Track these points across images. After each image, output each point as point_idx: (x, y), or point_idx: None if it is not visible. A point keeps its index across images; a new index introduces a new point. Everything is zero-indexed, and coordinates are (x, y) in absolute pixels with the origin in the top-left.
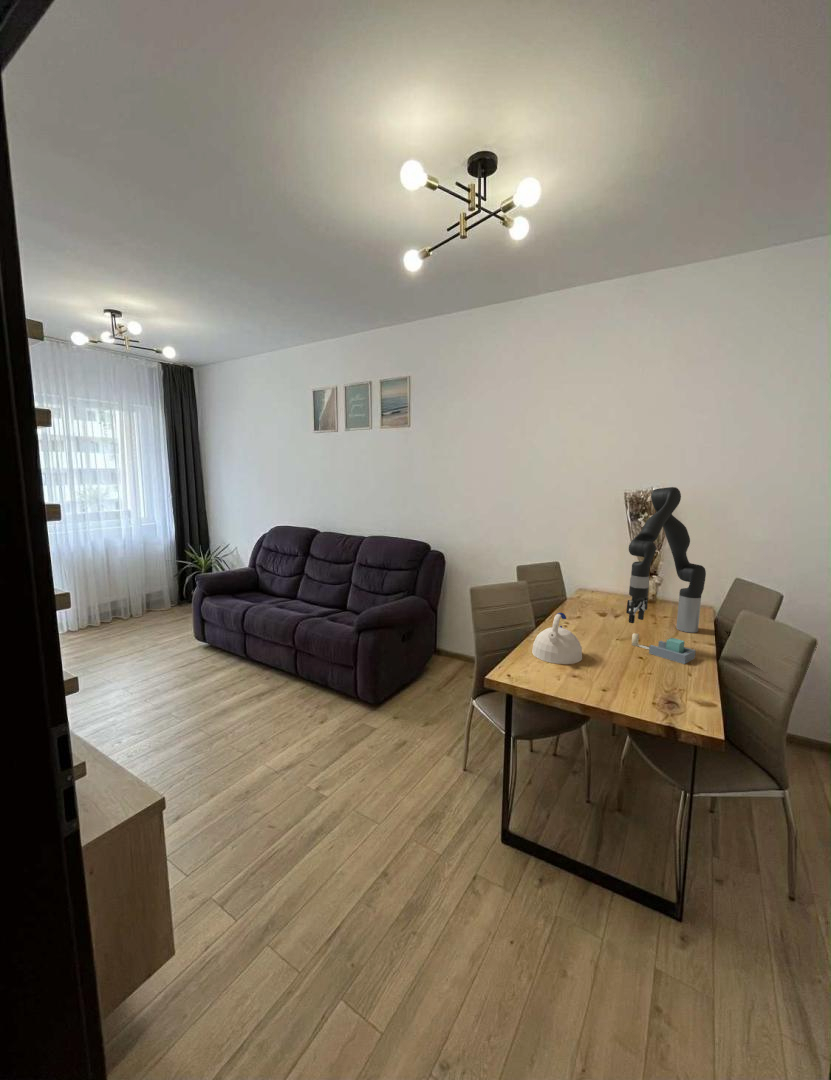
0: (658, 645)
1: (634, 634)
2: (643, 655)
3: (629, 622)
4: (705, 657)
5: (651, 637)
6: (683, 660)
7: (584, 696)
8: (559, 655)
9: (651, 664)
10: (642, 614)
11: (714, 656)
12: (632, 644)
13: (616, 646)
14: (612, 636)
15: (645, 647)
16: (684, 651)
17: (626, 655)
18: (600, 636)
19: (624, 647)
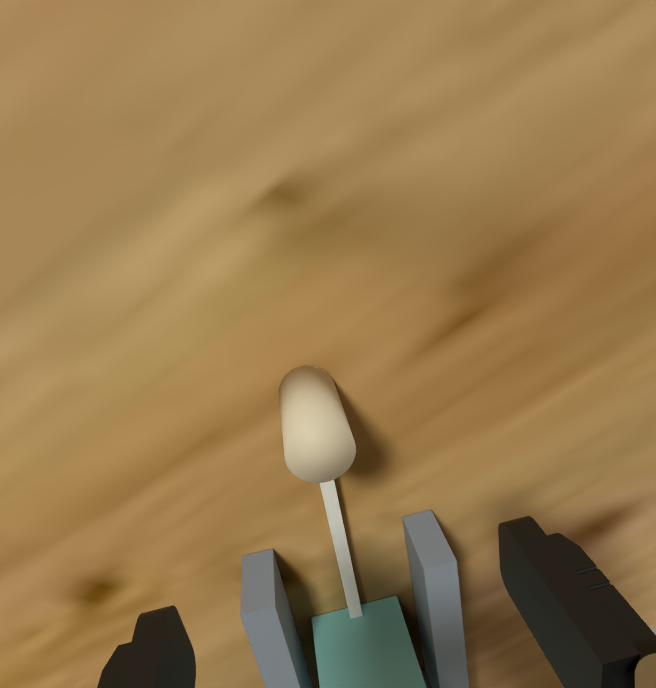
0: (411, 539)
1: (301, 452)
2: (163, 568)
3: (148, 617)
4: (520, 684)
5: (639, 313)
6: None
7: None
8: None
9: (73, 684)
10: (559, 671)
11: None
12: (279, 391)
13: (95, 347)
14: (319, 92)
15: (320, 483)
16: (435, 685)
17: (12, 530)
18: (168, 4)
19: (156, 395)
